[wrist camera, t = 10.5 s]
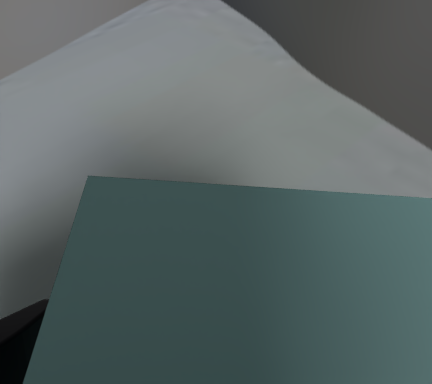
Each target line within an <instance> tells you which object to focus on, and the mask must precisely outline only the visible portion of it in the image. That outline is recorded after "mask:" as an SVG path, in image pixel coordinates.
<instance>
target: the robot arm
mask: <svg viewBox="0 0 432 384" xmlns="http://www.w3.org/2000/svg"><path fill="white" fill-rule="evenodd" d="M48 302H49V299H44V300H41V301H39V302H37V303H35V304H33V305H30V306H28V307H26V308H24V309H22V310H20V311H18V312H16V313H13V314H11V315H9V316H7V317H5V318H3V319H1V320H0V384H23V381H24V378H25V375H26V372H27V369H28V366H29V362H30V359H31V356H32V353H33V350H34V346H35V343H36V340H37V337H38V334H39V331H40V327H41V324H42V321H43V318H44V315H45V311H46V308H47V305H48Z"/></svg>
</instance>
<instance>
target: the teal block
mask: <svg viewBox="0 0 432 384" xmlns="http://www.w3.org/2000/svg"><path fill="white" fill-rule="evenodd" d="M23 384H432V198H419V197H404V196H389V195H374V194H358V193H343V192H328V191H313V190H298V189H282V188H267V187H252V186H237V185H221V184H206V183H191V182H176V181H160V180H145V179H130V178H115V177H100V176H88V178H87V181H86V184H85V187H84V191H83V194H82V197H81V200H80V203H79V206H78V210H77V213H76V216H75V219H74V222H73V226H72V229H71V232H70V235H69V238H68V241H67V245H66V248H65V251H64V254H63V257H62V261H61V264H60V267H59V270H58V273H57V276H56V280H55V283H54V286H53V289H52V292H51V296H50V299H49V302H48V305H47V308H46V311H45V315H44V318H43V321H42V324H41V327H40V331H39V334H38V337H37V340H36V343H35V346H34V350H33V353H32V356H31V359H30V362H29V366H28V369H27V372H26V375H25V378H24V381H23Z"/></svg>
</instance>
